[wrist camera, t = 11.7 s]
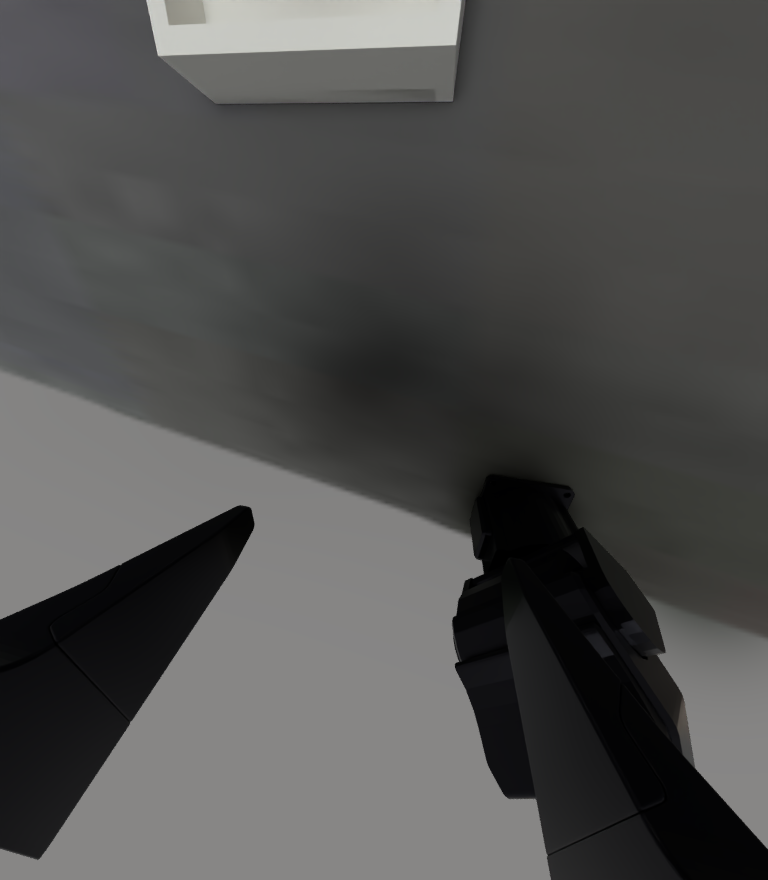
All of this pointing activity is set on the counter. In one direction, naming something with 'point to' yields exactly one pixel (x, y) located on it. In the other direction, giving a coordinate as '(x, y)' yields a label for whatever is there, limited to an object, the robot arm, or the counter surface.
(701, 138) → the counter surface
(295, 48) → the tray
